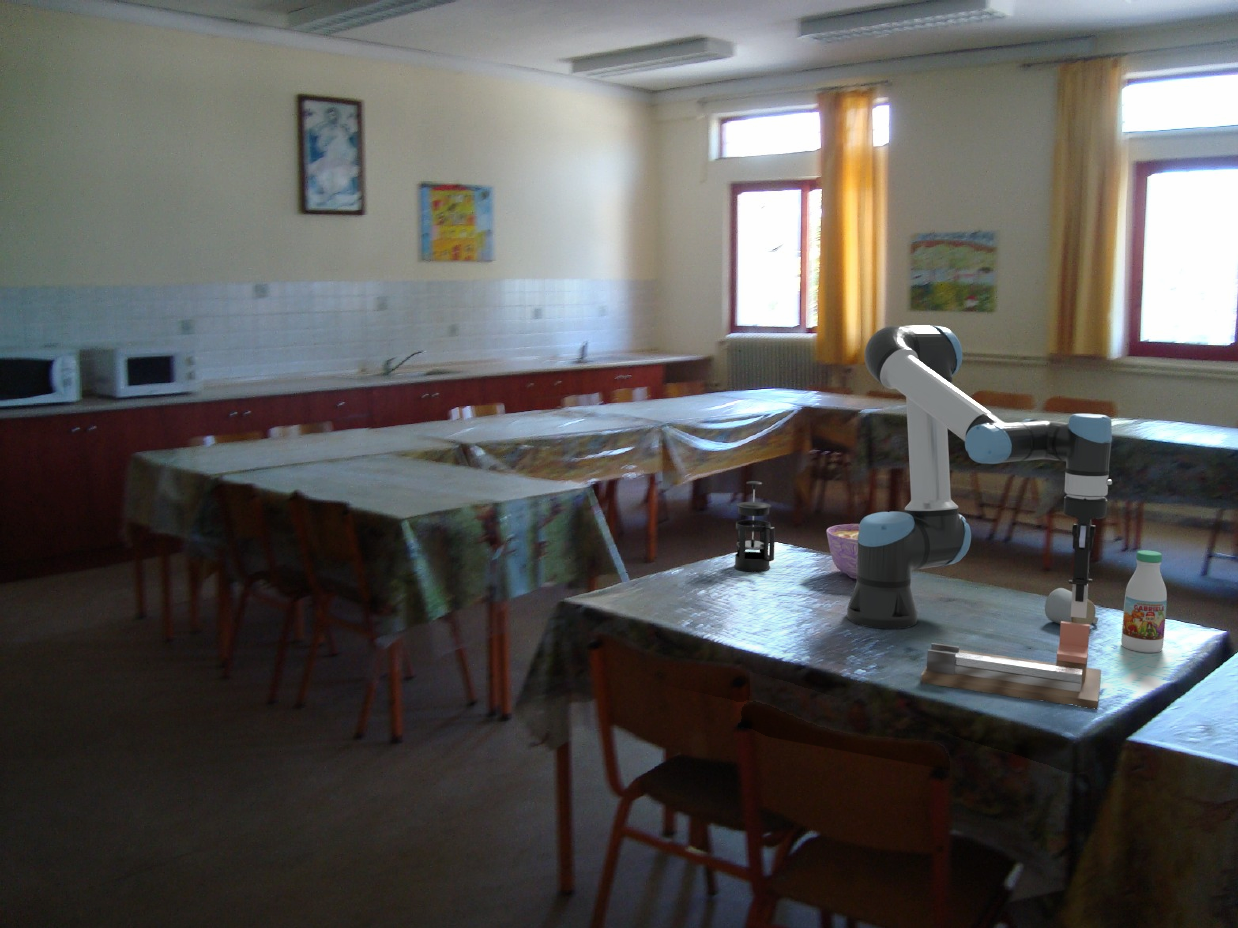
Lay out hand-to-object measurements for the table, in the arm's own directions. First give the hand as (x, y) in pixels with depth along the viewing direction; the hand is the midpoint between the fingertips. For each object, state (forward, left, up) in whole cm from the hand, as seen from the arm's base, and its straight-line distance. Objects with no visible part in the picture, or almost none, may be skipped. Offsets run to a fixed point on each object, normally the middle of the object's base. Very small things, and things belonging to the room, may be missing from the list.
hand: (1078, 616), depth 209 cm
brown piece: (-10, -14, -10) cm, 20 cm away
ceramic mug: (-2, +29, -10) cm, 31 cm away
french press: (-80, +45, -10) cm, 93 cm away
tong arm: (-10, -18, -7) cm, 22 cm away
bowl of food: (-52, +50, -10) cm, 73 cm away
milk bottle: (+12, +18, -10) cm, 24 cm away
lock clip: (0, -10, -5) cm, 11 cm away
